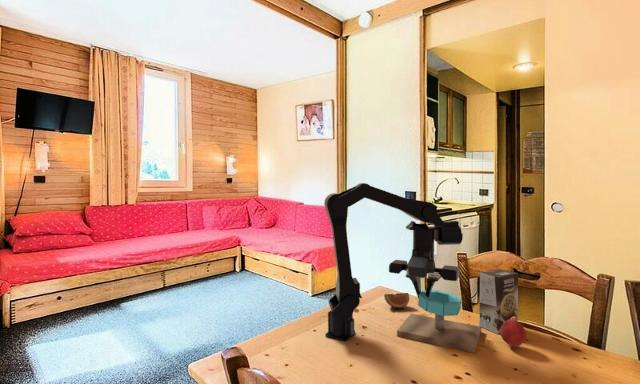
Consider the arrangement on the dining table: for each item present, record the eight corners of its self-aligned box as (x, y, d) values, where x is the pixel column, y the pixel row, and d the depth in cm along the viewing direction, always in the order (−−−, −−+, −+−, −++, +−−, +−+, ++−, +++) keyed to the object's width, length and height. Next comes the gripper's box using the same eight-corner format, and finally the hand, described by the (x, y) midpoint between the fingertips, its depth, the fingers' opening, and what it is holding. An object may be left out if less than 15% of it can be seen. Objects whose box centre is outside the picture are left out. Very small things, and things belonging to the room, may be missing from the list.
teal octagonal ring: (414, 308, 96) (415, 297, 96) (424, 297, 105) (425, 287, 105) (455, 319, 91) (456, 308, 91) (461, 306, 100) (462, 296, 100)
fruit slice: (386, 311, 115) (386, 296, 115) (381, 304, 122) (381, 290, 122) (411, 310, 116) (411, 295, 116) (405, 303, 123) (405, 289, 123)
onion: (501, 350, 89) (502, 319, 88) (498, 340, 94) (499, 311, 94) (528, 354, 87) (528, 322, 86) (523, 344, 92) (523, 314, 92)
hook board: (396, 335, 97) (396, 307, 97) (411, 318, 110) (411, 293, 109) (475, 353, 87) (475, 321, 87) (481, 331, 99) (481, 304, 99)
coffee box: (498, 334, 98) (498, 277, 97) (478, 326, 103) (478, 271, 103) (518, 328, 102) (519, 273, 101) (498, 320, 108) (499, 268, 107)
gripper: (382, 247, 98) (382, 302, 98) (453, 253, 88) (452, 315, 89) (395, 240, 107) (394, 291, 108) (460, 246, 98) (459, 301, 98)
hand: (423, 299), depth 100 cm, fingers closed on teal octagonal ring, 2 cm apart
